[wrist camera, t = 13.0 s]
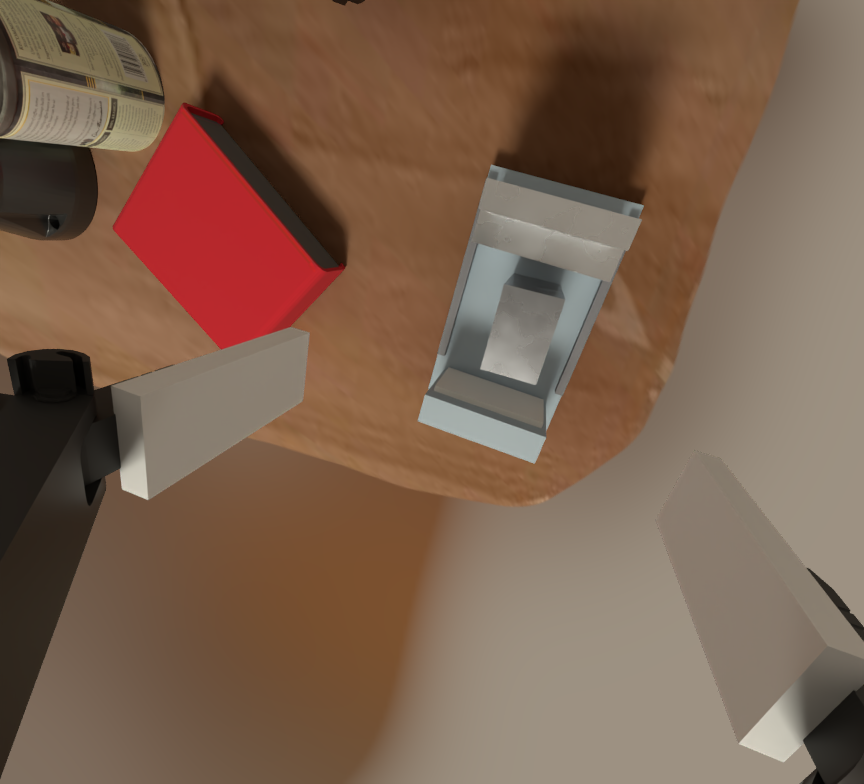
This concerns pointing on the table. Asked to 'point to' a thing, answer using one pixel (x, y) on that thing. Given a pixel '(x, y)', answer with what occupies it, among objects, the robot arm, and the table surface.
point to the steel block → (523, 328)
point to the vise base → (470, 329)
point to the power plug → (344, 0)
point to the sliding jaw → (553, 229)
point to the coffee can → (75, 80)
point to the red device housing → (222, 234)
